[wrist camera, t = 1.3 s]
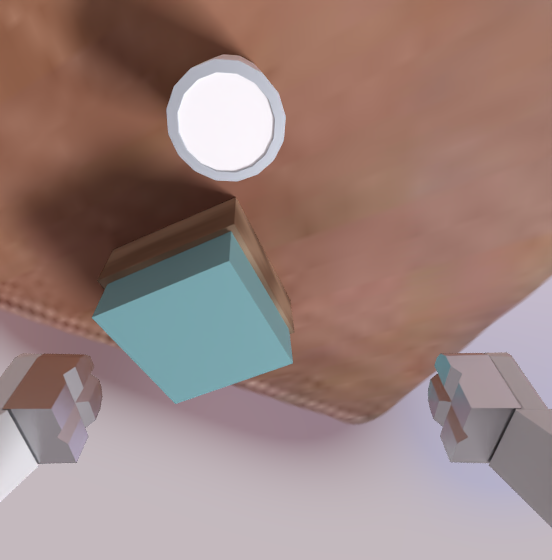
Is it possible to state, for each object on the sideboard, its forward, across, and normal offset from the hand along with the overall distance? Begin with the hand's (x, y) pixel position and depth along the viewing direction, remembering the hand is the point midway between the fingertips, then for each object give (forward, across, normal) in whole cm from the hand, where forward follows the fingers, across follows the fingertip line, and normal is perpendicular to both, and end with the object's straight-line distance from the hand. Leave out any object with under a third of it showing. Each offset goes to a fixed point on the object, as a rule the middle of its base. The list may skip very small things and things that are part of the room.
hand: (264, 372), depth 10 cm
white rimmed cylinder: (+25, +3, -2) cm, 25 cm away
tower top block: (+20, +6, +14) cm, 25 cm away
